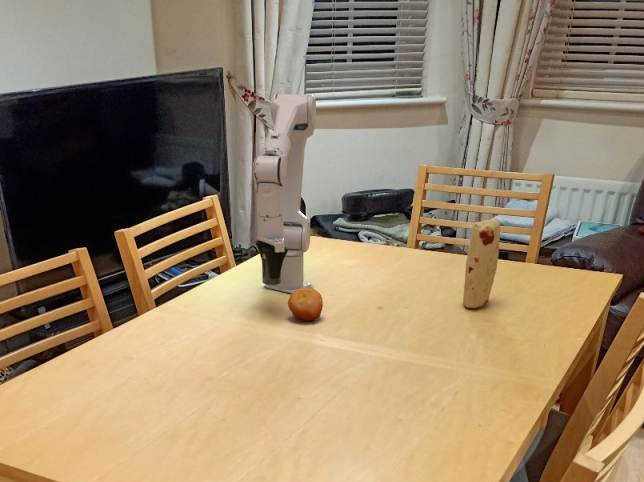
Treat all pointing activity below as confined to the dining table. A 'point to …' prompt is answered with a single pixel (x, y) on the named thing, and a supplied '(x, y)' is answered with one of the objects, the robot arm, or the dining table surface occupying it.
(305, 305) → the fruit
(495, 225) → the food model
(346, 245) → the dining table surface
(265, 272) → the salt shaker
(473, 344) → the dining table surface
